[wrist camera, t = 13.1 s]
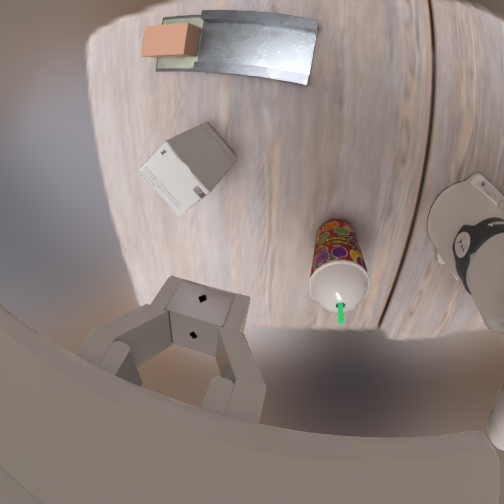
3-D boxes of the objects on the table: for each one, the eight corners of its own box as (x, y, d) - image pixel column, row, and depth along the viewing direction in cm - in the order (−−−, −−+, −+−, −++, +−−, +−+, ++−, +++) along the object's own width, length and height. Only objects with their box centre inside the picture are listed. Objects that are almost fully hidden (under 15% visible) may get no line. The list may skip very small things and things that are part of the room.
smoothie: (348, 205, 43) (364, 285, 26) (365, 245, 46) (383, 333, 30) (303, 224, 46) (293, 308, 30) (323, 261, 50) (321, 350, 33)
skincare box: (183, 142, 42) (132, 169, 30) (209, 119, 40) (162, 137, 27) (214, 179, 45) (175, 220, 33) (241, 159, 42) (209, 194, 30)
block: (200, 28, 30) (188, 22, 26) (196, 56, 33) (183, 54, 29) (160, 30, 31) (145, 26, 27) (156, 57, 34) (141, 56, 30)
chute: (318, 25, 28) (318, 20, 25) (307, 85, 34) (306, 85, 31) (164, 18, 30) (153, 14, 27) (157, 71, 36) (146, 71, 33)
